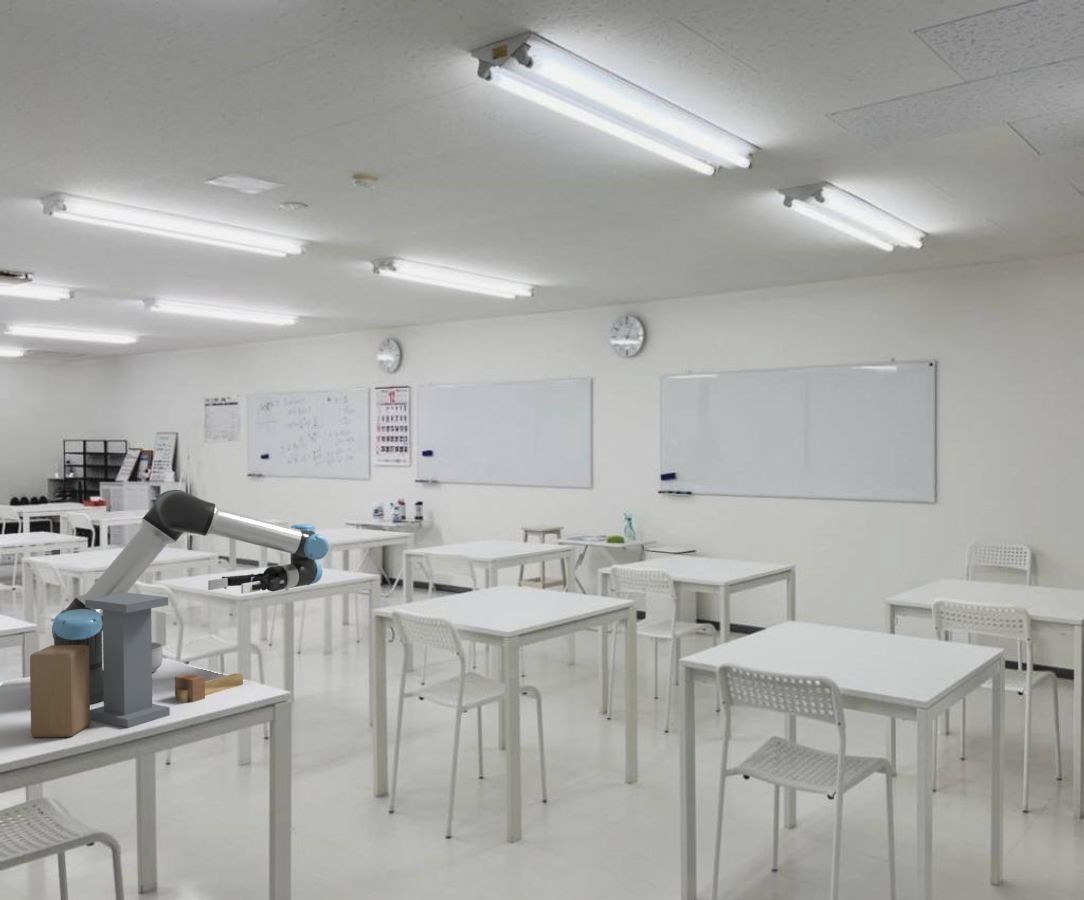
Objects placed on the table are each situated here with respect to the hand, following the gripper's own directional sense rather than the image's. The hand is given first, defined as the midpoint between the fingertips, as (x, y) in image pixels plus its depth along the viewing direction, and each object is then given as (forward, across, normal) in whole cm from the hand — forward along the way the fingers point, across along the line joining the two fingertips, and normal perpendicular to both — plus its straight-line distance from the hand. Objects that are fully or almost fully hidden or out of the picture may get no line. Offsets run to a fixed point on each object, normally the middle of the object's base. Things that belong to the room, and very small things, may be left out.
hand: (225, 587), depth 265 cm
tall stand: (+35, -4, -28) cm, 45 cm away
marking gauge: (+9, -4, -28) cm, 29 cm away
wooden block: (+50, 0, -28) cm, 58 cm away
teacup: (+3, +34, -28) cm, 44 cm away
